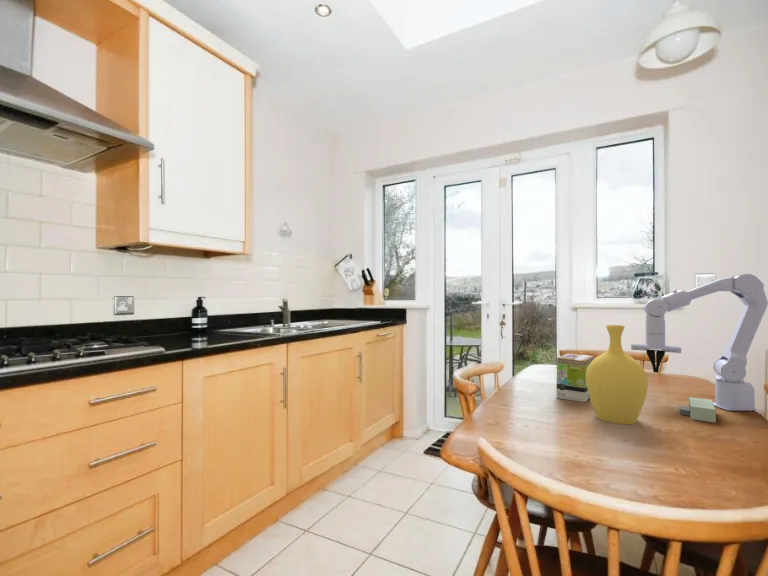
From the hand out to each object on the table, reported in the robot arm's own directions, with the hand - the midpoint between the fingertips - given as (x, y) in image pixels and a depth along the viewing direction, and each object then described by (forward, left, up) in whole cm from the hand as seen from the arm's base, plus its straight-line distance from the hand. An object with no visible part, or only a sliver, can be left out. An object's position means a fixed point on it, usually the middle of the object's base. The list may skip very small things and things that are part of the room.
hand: (655, 371), depth 139 cm
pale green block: (-2, +18, -10) cm, 20 cm away
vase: (+26, +21, -10) cm, 35 cm away
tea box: (+26, -5, -10) cm, 28 cm away
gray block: (-1, +16, -10) cm, 19 cm away
